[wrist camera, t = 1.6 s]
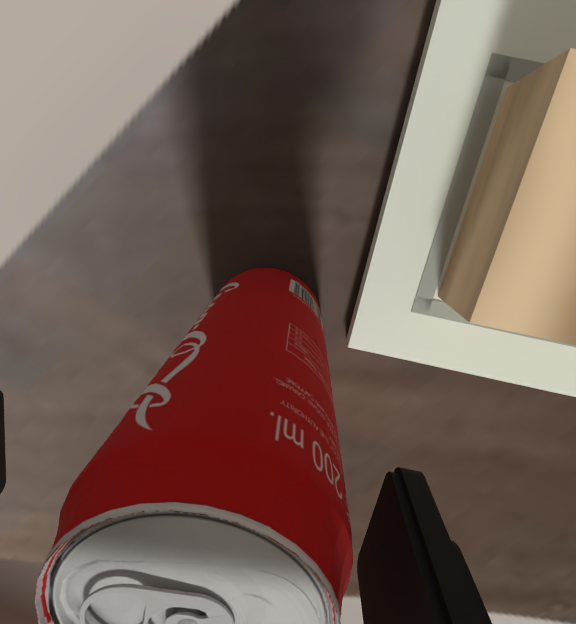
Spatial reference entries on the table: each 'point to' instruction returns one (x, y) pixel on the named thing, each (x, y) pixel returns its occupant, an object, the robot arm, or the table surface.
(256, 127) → the table surface
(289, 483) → the beverage can
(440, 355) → the board
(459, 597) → the robot arm
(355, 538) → the table surface
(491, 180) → the oak block
